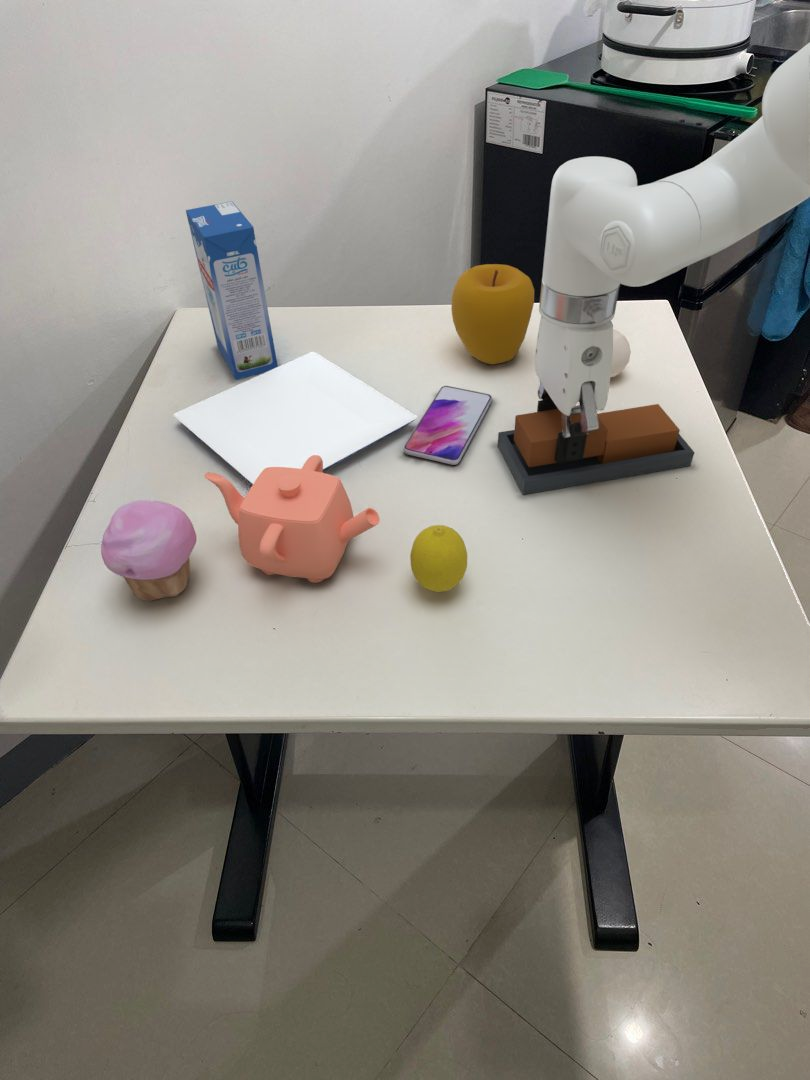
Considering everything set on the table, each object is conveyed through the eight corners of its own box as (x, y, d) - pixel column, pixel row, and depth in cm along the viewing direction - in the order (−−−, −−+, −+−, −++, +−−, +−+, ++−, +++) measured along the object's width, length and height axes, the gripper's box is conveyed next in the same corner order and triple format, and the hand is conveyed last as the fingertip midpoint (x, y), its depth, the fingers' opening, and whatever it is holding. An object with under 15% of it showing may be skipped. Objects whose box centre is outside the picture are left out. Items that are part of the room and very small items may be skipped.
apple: (437, 362, 104) (436, 275, 95) (476, 330, 110) (479, 245, 101) (505, 385, 99) (511, 295, 90) (542, 350, 106) (551, 262, 97)
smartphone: (494, 394, 96) (457, 462, 87) (493, 400, 97) (457, 467, 87) (442, 384, 98) (400, 448, 88) (441, 389, 99) (400, 454, 89)
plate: (272, 510, 83) (269, 496, 81) (175, 426, 95) (171, 412, 94) (419, 429, 93) (418, 415, 92) (314, 362, 105) (313, 349, 104)
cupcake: (137, 554, 79) (107, 482, 72) (217, 554, 78) (195, 482, 71) (111, 619, 72) (76, 547, 65) (198, 619, 72) (172, 547, 65)
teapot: (345, 501, 84) (336, 428, 76) (386, 569, 76) (380, 495, 69) (223, 540, 80) (201, 467, 73) (253, 616, 72) (232, 543, 65)
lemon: (472, 573, 75) (475, 516, 69) (457, 613, 71) (459, 556, 66) (421, 562, 76) (419, 504, 71) (403, 600, 73) (400, 543, 67)
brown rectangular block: (583, 438, 90) (587, 414, 87) (652, 427, 91) (658, 403, 88) (602, 466, 86) (606, 442, 83) (673, 453, 87) (680, 429, 84)
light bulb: (541, 332, 100) (616, 334, 93) (566, 322, 104) (639, 324, 97) (543, 380, 102) (616, 386, 95) (567, 369, 107) (639, 373, 100)
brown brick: (513, 439, 87) (515, 415, 85) (584, 428, 88) (588, 403, 86) (528, 467, 83) (531, 442, 81) (603, 455, 85) (608, 430, 82)
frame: (497, 445, 90) (498, 432, 89) (653, 419, 93) (656, 406, 91) (522, 495, 83) (524, 481, 82) (690, 466, 86) (694, 452, 85)
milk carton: (217, 347, 109) (185, 209, 95) (258, 337, 111) (231, 200, 97) (236, 380, 103) (203, 236, 89) (278, 369, 104) (253, 226, 90)
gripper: (652, 333, 67) (619, 484, 80) (580, 257, 79) (561, 399, 92) (575, 345, 66) (554, 496, 79) (514, 266, 78) (504, 408, 91)
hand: (558, 442), depth 85 cm, fingers open, 5 cm apart
